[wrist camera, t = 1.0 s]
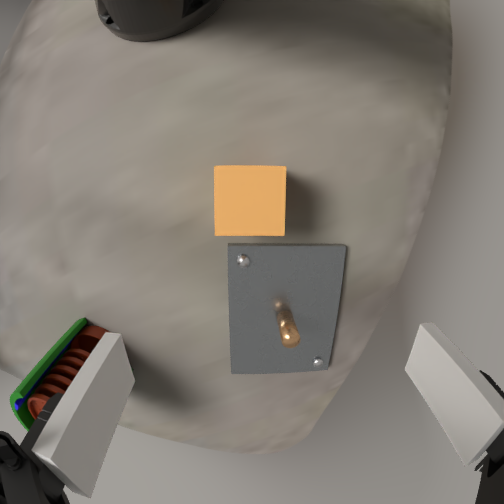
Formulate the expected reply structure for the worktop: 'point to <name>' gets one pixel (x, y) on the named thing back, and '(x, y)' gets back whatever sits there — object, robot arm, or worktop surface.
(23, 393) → the motor
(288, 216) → the worktop surface
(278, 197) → the orange block
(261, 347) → the plate
